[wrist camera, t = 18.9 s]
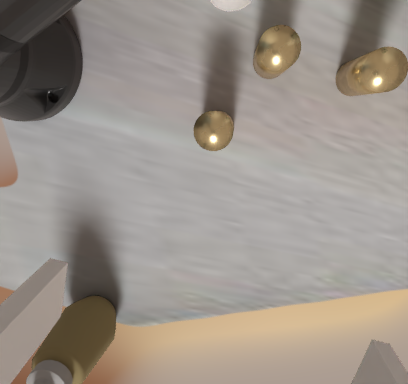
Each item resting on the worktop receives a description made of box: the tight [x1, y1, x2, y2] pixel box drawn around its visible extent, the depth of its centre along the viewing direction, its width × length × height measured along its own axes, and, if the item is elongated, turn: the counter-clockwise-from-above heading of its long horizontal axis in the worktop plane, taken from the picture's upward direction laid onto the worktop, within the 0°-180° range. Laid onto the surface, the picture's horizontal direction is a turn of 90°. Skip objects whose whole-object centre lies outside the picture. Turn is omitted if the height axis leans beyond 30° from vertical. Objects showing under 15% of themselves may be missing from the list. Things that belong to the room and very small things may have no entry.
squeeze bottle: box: [26, 295, 116, 384], centre depth 42 cm, size 8×8×18 cm
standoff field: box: [194, 25, 408, 151], centre depth 37 cm, size 12×30×9 cm, turn 90°
